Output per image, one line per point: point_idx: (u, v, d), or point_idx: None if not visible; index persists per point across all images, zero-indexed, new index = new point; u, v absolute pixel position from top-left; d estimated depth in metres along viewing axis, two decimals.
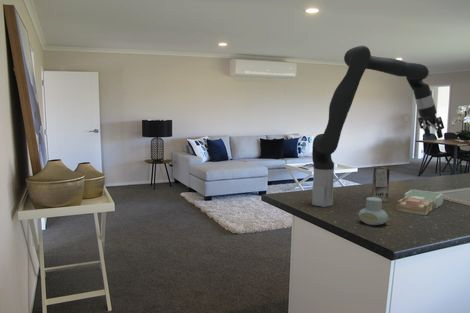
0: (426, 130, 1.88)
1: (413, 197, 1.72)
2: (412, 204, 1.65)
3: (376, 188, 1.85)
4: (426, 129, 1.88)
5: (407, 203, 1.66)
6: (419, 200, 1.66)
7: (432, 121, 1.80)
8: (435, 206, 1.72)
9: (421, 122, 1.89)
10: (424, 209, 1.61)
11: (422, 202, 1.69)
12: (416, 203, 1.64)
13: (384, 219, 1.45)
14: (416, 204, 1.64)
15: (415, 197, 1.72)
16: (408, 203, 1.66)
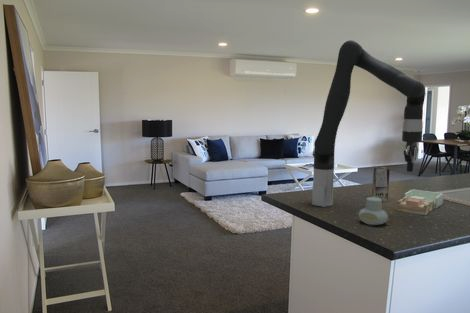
0: None
1: (413, 197, 1.72)
2: (412, 204, 1.65)
3: (376, 188, 1.85)
4: None
5: (407, 203, 1.66)
6: (419, 200, 1.66)
7: None
8: (435, 206, 1.72)
9: None
10: (424, 209, 1.61)
11: (422, 202, 1.69)
12: (416, 203, 1.64)
13: (384, 219, 1.45)
14: (416, 204, 1.64)
15: (415, 197, 1.72)
16: (408, 203, 1.66)
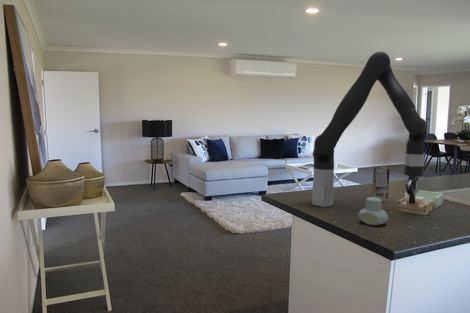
0: None
1: None
2: (412, 204, 1.66)
3: (376, 188, 1.85)
4: None
5: (407, 203, 1.67)
6: (420, 200, 1.67)
7: None
8: (435, 206, 1.72)
9: None
10: (424, 209, 1.61)
11: (422, 202, 1.69)
12: (416, 203, 1.64)
13: (384, 219, 1.45)
14: (416, 204, 1.65)
15: (415, 197, 1.72)
16: (408, 203, 1.67)
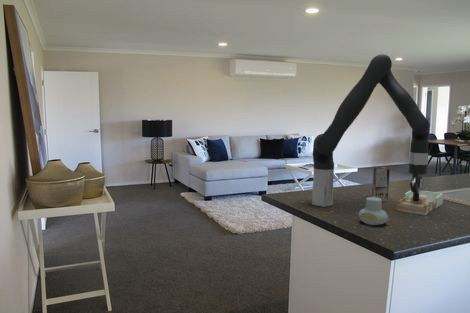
0: None
1: None
2: None
3: (376, 188, 1.85)
4: None
5: (412, 200, 1.71)
6: (423, 197, 1.71)
7: None
8: (435, 206, 1.72)
9: None
10: (424, 209, 1.61)
11: (425, 200, 1.73)
12: (420, 200, 1.69)
13: (384, 219, 1.45)
14: (420, 201, 1.69)
15: None
16: None
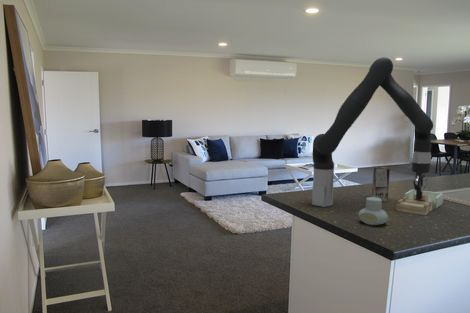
0: None
1: None
2: None
3: (376, 188, 1.85)
4: None
5: (415, 197, 1.75)
6: None
7: None
8: (435, 206, 1.72)
9: None
10: (424, 209, 1.61)
11: (428, 195, 1.77)
12: (423, 197, 1.73)
13: (384, 219, 1.45)
14: (423, 198, 1.73)
15: None
16: (415, 197, 1.75)
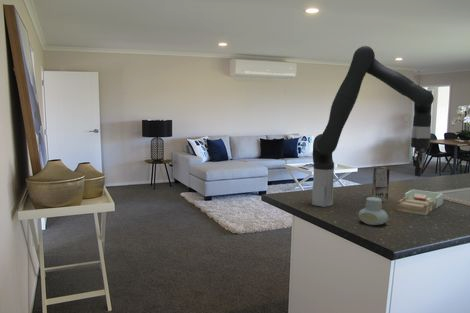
0: None
1: None
2: (420, 196, 1.75)
3: (376, 188, 1.85)
4: None
5: (415, 196, 1.76)
6: None
7: None
8: (435, 206, 1.72)
9: None
10: (424, 209, 1.61)
11: (430, 199, 1.81)
12: (424, 196, 1.74)
13: (384, 219, 1.45)
14: (424, 196, 1.74)
15: None
16: (416, 196, 1.76)
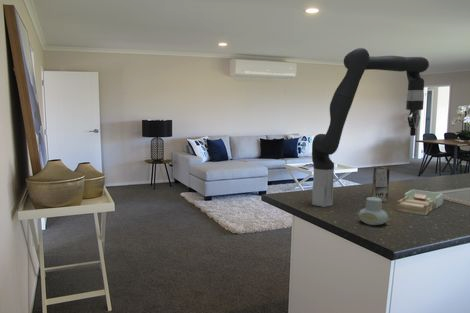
0: None
1: None
2: (420, 196, 1.75)
3: (376, 188, 1.85)
4: None
5: (415, 196, 1.76)
6: None
7: None
8: (435, 206, 1.72)
9: None
10: (424, 209, 1.61)
11: (430, 199, 1.81)
12: (424, 196, 1.74)
13: (384, 219, 1.45)
14: (424, 196, 1.74)
15: None
16: (416, 196, 1.76)
